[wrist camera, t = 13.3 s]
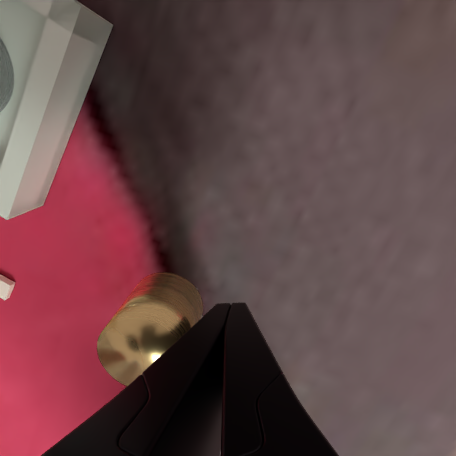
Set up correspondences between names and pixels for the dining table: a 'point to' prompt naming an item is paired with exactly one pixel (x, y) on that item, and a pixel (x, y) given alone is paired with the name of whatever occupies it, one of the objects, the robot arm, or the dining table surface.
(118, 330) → the crank
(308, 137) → the dining table surface
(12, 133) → the tray
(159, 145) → the dining table surface
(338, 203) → the dining table surface
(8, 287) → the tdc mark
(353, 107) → the dining table surface
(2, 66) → the glass jar
